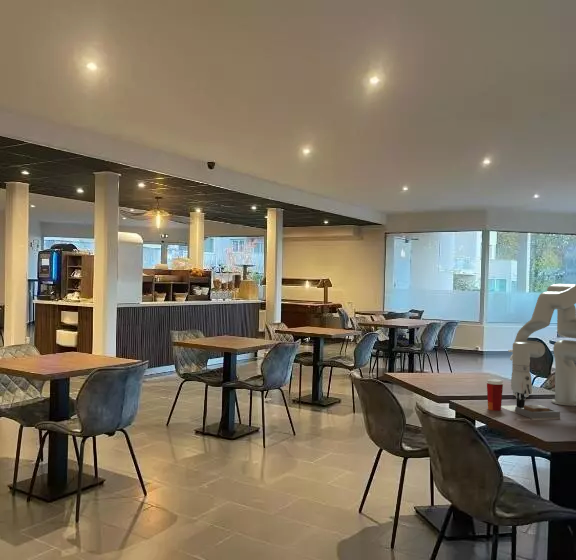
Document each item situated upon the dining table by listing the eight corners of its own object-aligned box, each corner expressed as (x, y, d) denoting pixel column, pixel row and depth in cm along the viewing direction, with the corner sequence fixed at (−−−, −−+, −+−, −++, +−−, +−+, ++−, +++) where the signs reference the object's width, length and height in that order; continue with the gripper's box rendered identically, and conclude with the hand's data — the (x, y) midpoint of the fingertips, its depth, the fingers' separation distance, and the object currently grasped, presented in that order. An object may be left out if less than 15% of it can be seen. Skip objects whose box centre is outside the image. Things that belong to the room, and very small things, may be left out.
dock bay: (523, 406, 283) (523, 400, 283) (559, 418, 257) (559, 411, 257) (496, 406, 280) (497, 400, 280) (531, 419, 254) (531, 412, 254)
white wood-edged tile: (539, 413, 265) (539, 404, 265) (549, 416, 258) (549, 407, 258) (523, 413, 264) (523, 405, 264) (533, 416, 257) (533, 408, 257)
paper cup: (505, 410, 273) (505, 380, 273) (500, 413, 266) (501, 382, 267) (488, 408, 277) (488, 378, 277) (483, 410, 271) (483, 380, 271)
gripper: (538, 370, 267) (537, 410, 267) (518, 366, 282) (518, 404, 282) (523, 370, 266) (523, 411, 266) (504, 366, 280) (504, 404, 280)
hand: (520, 407), depth 274 cm, fingers closed
